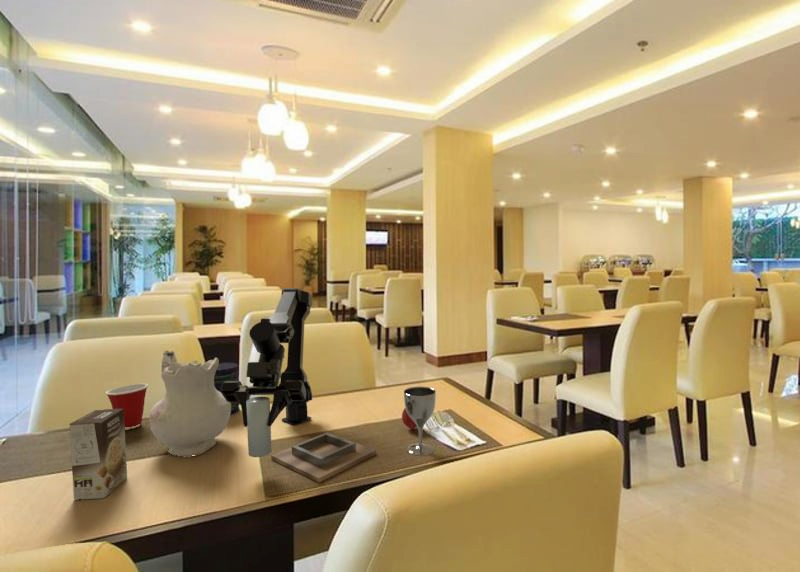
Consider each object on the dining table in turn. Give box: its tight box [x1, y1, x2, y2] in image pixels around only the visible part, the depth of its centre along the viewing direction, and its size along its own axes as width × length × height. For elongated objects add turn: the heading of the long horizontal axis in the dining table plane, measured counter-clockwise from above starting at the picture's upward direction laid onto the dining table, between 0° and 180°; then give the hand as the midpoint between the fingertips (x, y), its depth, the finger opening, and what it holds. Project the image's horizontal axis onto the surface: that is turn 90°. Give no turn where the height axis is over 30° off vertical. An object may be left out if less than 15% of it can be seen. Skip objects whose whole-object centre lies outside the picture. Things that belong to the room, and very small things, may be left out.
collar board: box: [271, 432, 377, 483], centre depth 111 cm, size 18×18×3 cm
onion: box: [401, 407, 417, 430], centre depth 127 cm, size 6×6×8 cm
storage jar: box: [214, 362, 240, 416], centre depth 144 cm, size 10×10×15 cm
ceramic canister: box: [246, 396, 273, 458], centre depth 101 cm, size 5×5×12 cm
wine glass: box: [403, 386, 437, 457], centre depth 113 cm, size 8×8×15 cm
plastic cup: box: [105, 383, 149, 427], centre depth 133 cm, size 11×11×12 cm
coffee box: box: [69, 408, 128, 501], centre depth 97 cm, size 9×6×16 cm
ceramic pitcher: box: [148, 350, 231, 458], centre depth 117 cm, size 22×20×25 cm
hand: (256, 426), depth 100 cm, fingers closed on ceramic canister, 5 cm apart
